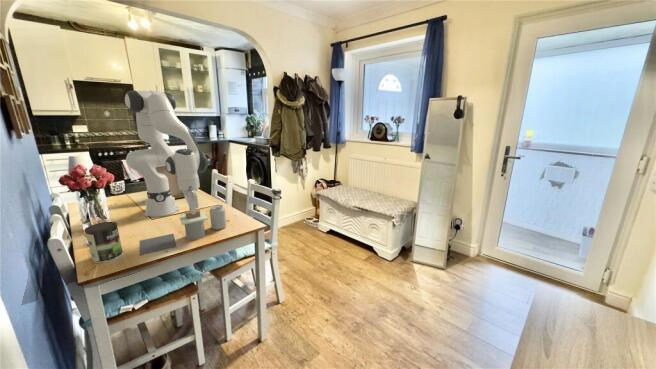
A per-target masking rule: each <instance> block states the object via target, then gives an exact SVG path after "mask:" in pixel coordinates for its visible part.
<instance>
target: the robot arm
mask: <svg viewBox="0 0 656 369" xmlns="http://www.w3.org/2000/svg"><path fill="white" fill-rule="evenodd" d="M124 96H125V97H124V103H125V105H126V107H127V109H128V110H129V111H130V112H132V113H136V114H135V117H136V118H135V119H136V121H135V122H136V129H137V134H138V135H137V136H138V138H139V140H141V141H142V142H145V143H147V144H149V145H150V148H145V149H137V150H134V151H130V152H128V153H127V155H126V158H125V161H126V162H125V163H126V164H127V166H128V167H129V168H130V169H132V170H134V171H136V172H138V173H139V175H141V177H142V178H143V179H144V182H145V186H146V190H147V192H146V195H147V199H146V201H145V203H144V204H145V208H146V210H145V212H143V216H144V217H150V218H151V217H152V218H153V217H154V218H155V217H156V218H157V217H166V216H169V215H172V214H174V213H175V212H178V211H180V210H181V207H179V206H178V205H177V203H176V198H174V197H172V196H171V190H170V189H169V183H168V178H167V176H166V175H164V174H161V173H158V172H157V171H156V167H162V166H166V169H167V172H169V173H170V174H172V175H178V178H177V180H178V187H179V190H182V192H183V194H184V197H183V198H185V201H186V203H187V205H188V208H189V211H191V214H196V210H197V209H199V199H198V194H197V192H198V189H199V188H200V186H201V185H200V178H199V174H198V173H204V172H205V171H206V170H207V169H208V166H209V160H208V157H207V156H206V155H205V153H204V152H203V151H202V149H201V148H200V146H199V144H198V141H197V140H196V139H195V136H194V135H193V133H192V131H191V129H190V128H189V127H188V125H186V124H185V123H183V122H182V121H181V120H180V119H179V118H178V117H177V115H176V113H175V110H176V105H177V102H176V99H175V97H174V95H173V94H172V93H170V92H167V91H156V90H129V91H127V92H126V93H125V95H124ZM163 134H164V135H166V136H172V137H176V138H179V139H181V141H183V142H184V143H185V145H186V148H182V149H181V148H180V149H177V150H175V149H173V148H172V147H170V146H169V145H168V144H167V142H166V141H165V139H164V136H163ZM187 148H188V149H187Z"/></svg>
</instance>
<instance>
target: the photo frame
mask: <svg viewBox="0 0 656 369" xmlns="http://www.w3.org/2000/svg"><path fill="white" fill-rule="evenodd" d="M156 171H157V172H158V173H161V174H164V175H166V176H167V178H168V183H169V189H170V190H171V196H172V197H174V198H175V199H180V198H185V197H184V194H183V192H182V190H179V187H178V180H177V178H178V175H172V174H170V173H169V172H167V169H166V166H162V167H156Z"/></svg>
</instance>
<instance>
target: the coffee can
mask: <svg viewBox="0 0 656 369" xmlns="http://www.w3.org/2000/svg"><path fill="white" fill-rule="evenodd" d="M84 233H85V236H86V241H87V244H88V248H89V251H90V252H89V253H90V255H91V260H92V262H93V263H94V262H95V263H94V264H100V263H107V262H110V261H113V260H116V259H117V258H119V257H122V255H123V254H124V251H123V247H122V242H121V238H120V231H119V228H118V223H117V222H116V221H103V222H98V223H94V224H91V225H89V226H87V227H85V228H84Z"/></svg>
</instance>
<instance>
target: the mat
mask: <svg viewBox="0 0 656 369" xmlns="http://www.w3.org/2000/svg"><path fill="white" fill-rule="evenodd" d="M174 248H178V247H177V242H176V237H175V235H174V233H169V234H164V235H159V236H155V237H151V238H144V239H140V240H139V254H138V255H139V257H140V256H145V255H149V254H153V253H157V252H161V251H166V250H170V249H174Z"/></svg>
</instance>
